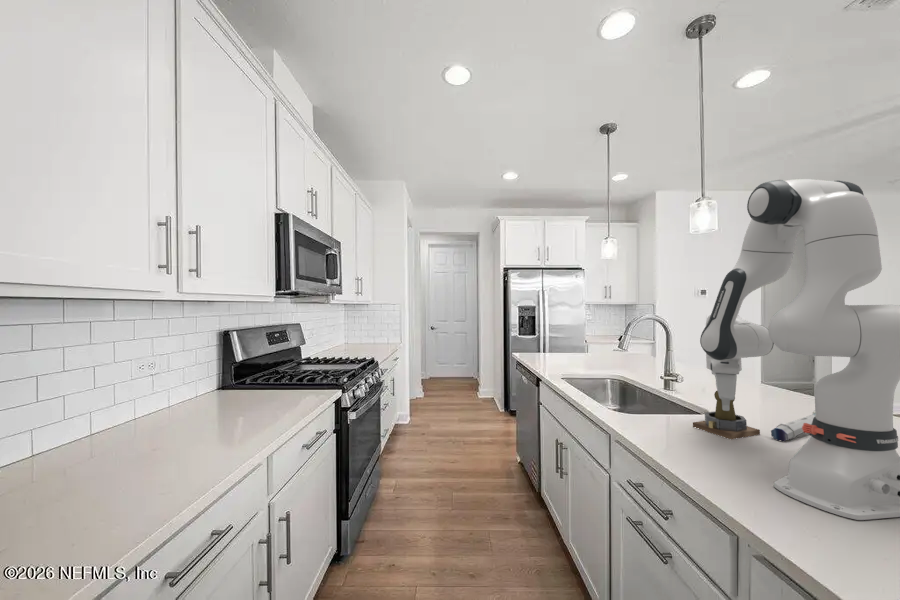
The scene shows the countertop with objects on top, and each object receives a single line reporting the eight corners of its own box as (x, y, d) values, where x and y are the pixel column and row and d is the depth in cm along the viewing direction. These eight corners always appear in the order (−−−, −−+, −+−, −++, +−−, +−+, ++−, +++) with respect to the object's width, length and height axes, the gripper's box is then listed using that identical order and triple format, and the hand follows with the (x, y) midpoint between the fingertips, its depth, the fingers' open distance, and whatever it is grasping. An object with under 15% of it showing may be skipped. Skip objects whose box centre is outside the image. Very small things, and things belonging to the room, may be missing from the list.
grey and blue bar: (767, 425, 108) (815, 404, 117) (769, 447, 108) (817, 424, 117) (788, 430, 103) (837, 408, 112) (791, 453, 103) (839, 429, 112)
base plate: (730, 439, 107) (730, 434, 107) (692, 427, 119) (692, 422, 119) (760, 434, 111) (759, 429, 111) (720, 423, 122) (720, 418, 122)
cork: (741, 426, 114) (739, 390, 114) (733, 430, 111) (732, 393, 111) (718, 421, 119) (717, 387, 119) (710, 425, 116) (709, 390, 116)
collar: (727, 433, 108) (726, 423, 108) (695, 423, 118) (695, 413, 118) (753, 429, 111) (753, 419, 111) (721, 419, 121) (720, 410, 121)
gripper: (710, 359, 126) (711, 399, 125) (712, 367, 109) (714, 414, 108) (733, 360, 122) (734, 401, 122) (739, 369, 105) (741, 418, 105)
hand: (725, 408), depth 115 cm, fingers closed on cork, 4 cm apart
